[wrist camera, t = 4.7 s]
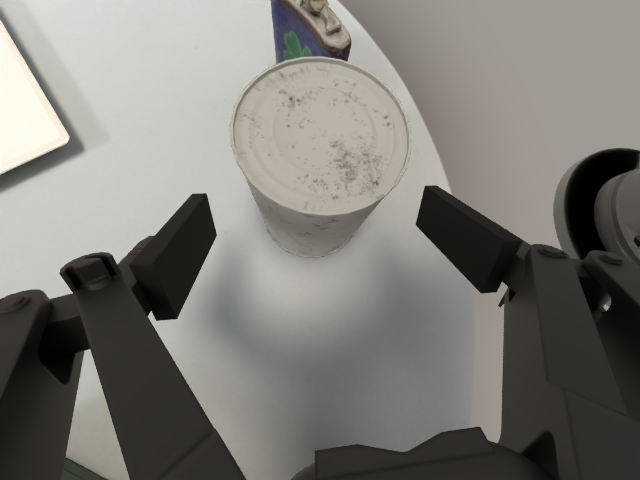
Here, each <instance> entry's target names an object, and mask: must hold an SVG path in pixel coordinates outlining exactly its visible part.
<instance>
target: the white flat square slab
mask: <svg viewBox="0 0 640 480" xmlns="http://www.w3.org/2000/svg"><path fill="white" fill-rule="evenodd" d="M69 138H70V137H69V135H68V133H67V132H66V130H65V128H64V126H63V125H62V123H61V121H60V120H59V118H58V116H57V115H56V113H55V111H54V110H53V108H52V106H51V105H50V103H49V101H48V99H47V98H46V96H45V94H44V93H43V91H42V89H41V88H40V86H39V84H38V83H37V81H36V79H35V78H34V76H33V74H32V72H31V71H30V69H29V67H28V66H27V64H26V62H25V61H24V59H23V57H22V56H21V54H20V52H19V51H18V49H17V47H16V45H15V44H14V42H13V40H12V39H11V37H10V35H9V34H8V32H7V30H6V29H5V27H4V25H3V24H2V22H1V20H0V175H1V174H3V173H5V172H7V171H9V170H11V169H14V168H16V167H18V166H20V165H22V164H24V163H26V162H29V161H31V160H33V159H35V158H37V157H39V156H42V155H44V154H46V153H48V152H50V151H52V150H54V149H57V148H59V147H61V146H63V145H65V144H67V142H68V140H69Z"/></svg>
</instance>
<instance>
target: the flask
mask: <svg viewBox="0 0 640 480" xmlns="http://www.w3.org/2000/svg"><path fill="white" fill-rule="evenodd" d="M271 8H272V20H273V28H274V41H275V52H276V64H278V63H281V62H283V61H285V60H290V59H295V58H300V57H316V56H323V57H329V58H335V59H341V60H344V61H348V57H349V52H350V47H351V38H350V34H349V33H348V31H347V30H346V29H345V27H344V26H343V25H342V23H341V22H340V20H339V19H338V17H337V16H336V15H335V14H334V12H333V11H332V10H331V9H330V8H329V3H328V1H327V0H271Z"/></svg>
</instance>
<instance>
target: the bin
mask: <svg viewBox="0 0 640 480" xmlns="http://www.w3.org/2000/svg"><path fill="white" fill-rule="evenodd" d="M61 480H105V479H103V478H102V477H100V476H98V475H96V474H94V473H92V472H90V471H89V470H87V469H85V468H83V467H81V466H79V465H77V464H76V463H74V462H72V461H70V460H68V459H66V458H65V461H64V467H63V472H62V478H61Z"/></svg>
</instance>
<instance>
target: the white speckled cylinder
mask: <svg viewBox="0 0 640 480" xmlns="http://www.w3.org/2000/svg"><path fill="white" fill-rule="evenodd" d="M230 138H231V146H232V149H233V152H234V156H235V159H236V162H237V164H238V166H239V167H240V169H241V171H242V172H243V174H244V175H245V178H246V180H247V182H248V185H249V187H250V189H251V191H252V194H253V196H254V198H255V201H256V203H257V205H258V207H259V210H260V212H261V214H262V217H263V219H264V222H265V225H266V228H267V230H268V232H269V234H270V235H271V237H272V239H273V240H274V241H275V242H276V243H277V244H278V245H279V246H280V247H281V248H283V249H285V250H286V251H288V252H289V253H292V254H295V255H297V256H300V257H308V258H315V257H323V256H326V255H329V254H332V253H334V252H336V251H337V250H339V249H340V248H342V247H343V246H344V245H345V244H346V243H347V242H348V241H349V240H350V238H351V237H352V235H353V234H354V232H355V231H356V230H357V229H358V228H359V226H360V225H361V224H362V223H363V222H364V220H365V219H366V218H367V217H368V216H369V214H370V213H371V212H372V211H373V210H374V208H375V207H376V206H377V205H378V204H379V202H380V201H381V200H382V199H383V198H384V197H385V196H386V195H387V194H388V193H389V192H390V191H391V190H392V189H393V188H394V187H395V186H396V185H397V184H398V182H399V180H400V179H401V177H402V175H403V174H404V172H405V170H406V168H407V165H408V161H409V158H410V154H411V129H410V125H409V120H408V116H407V114H406V112H405V110H404V108H403V106H402V104H401V102H400V100H399V99H398V98H397V96H396V95H395V94H394V93H393V91H392V90H391V89H390V88H389V86H387V85H386V84H385V83H384V82H383V81H381V80H380V79H379V78H378V77H377V76H376V75H374V74H372V73H371V72H369V71H367V70H365V69H364V68H362V67H360V66H358V65H355V64H353V63H350V62H347V61H344V60H341V59H335V58H329V57H323V56H316V57H300V58H295V59H290V60H285V61H283V62H281V63H278V64H276V65H274V66H271V67H269V68H267V69H266V70H265V71H263V72H262V73H260V74H259V75H257V76H256V77H255V78H253V80H252V81H251V82H250V83H249V84H248V85H247V86H246V87H245V89H244V90H243V91H242V92H241V94H240V96H239V98H238V100H237V102H236V104H235V106H234V109H233V113H232V118H231V123H230Z"/></svg>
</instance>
